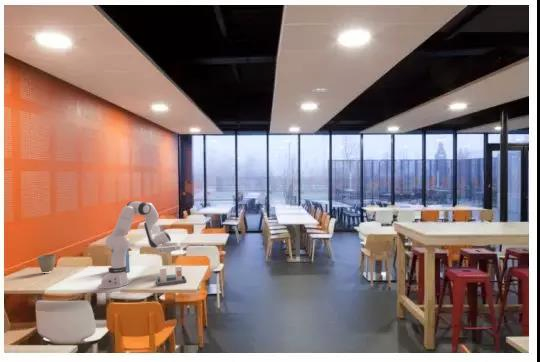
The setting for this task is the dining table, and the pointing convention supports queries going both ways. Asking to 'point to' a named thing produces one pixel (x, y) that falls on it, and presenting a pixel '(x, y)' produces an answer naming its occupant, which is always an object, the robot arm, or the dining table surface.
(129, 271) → the gum box
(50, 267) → the plant pot
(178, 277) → the labelled box
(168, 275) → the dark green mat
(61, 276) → the dining table surface
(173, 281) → the charcoal tray
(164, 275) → the plain box
